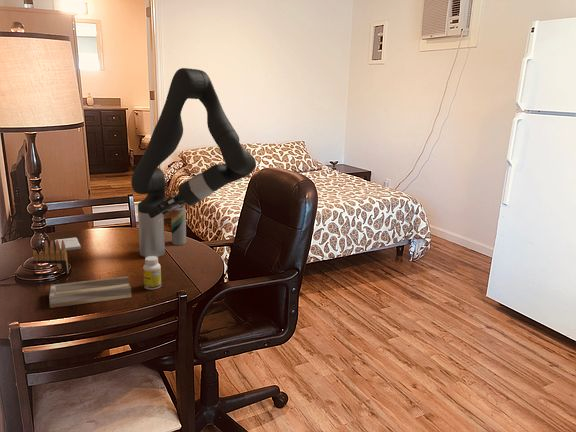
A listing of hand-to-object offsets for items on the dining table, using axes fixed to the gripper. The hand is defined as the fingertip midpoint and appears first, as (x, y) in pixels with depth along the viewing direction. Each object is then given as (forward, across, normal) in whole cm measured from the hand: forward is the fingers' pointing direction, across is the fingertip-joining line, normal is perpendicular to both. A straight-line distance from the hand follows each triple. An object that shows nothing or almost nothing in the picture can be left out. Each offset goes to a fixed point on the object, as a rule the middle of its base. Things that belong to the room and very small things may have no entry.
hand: (155, 213), depth 143 cm
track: (+26, +12, +12) cm, 31 cm away
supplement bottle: (+13, +2, +20) cm, 24 cm away
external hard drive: (+53, -27, -10) cm, 60 cm away
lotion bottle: (+18, -41, +11) cm, 46 cm away
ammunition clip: (+43, 0, -1) cm, 43 cm away
